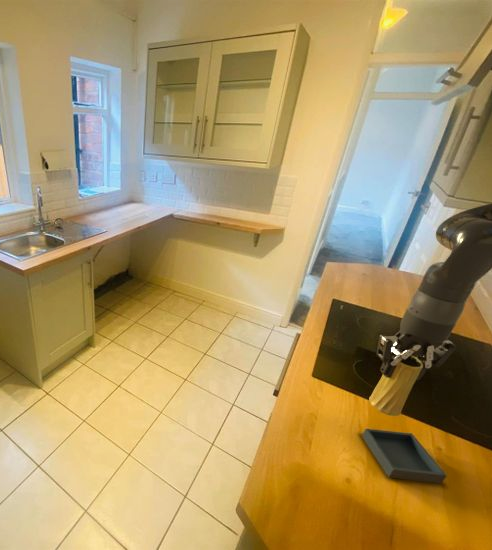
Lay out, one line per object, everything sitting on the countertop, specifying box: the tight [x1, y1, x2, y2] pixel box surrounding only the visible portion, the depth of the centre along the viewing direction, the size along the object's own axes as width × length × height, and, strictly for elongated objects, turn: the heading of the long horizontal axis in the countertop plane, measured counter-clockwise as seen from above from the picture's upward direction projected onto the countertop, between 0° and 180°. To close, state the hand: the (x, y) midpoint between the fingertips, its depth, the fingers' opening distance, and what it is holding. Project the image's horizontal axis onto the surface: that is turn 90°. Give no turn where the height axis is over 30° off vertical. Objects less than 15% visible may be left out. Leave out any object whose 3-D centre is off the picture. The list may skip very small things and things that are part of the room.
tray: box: [361, 428, 448, 484], centre depth 67 cm, size 10×10×3 cm
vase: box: [368, 351, 423, 417], centre depth 70 cm, size 6×6×14 cm
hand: (399, 376), depth 69 cm, fingers closed on vase, 5 cm apart
